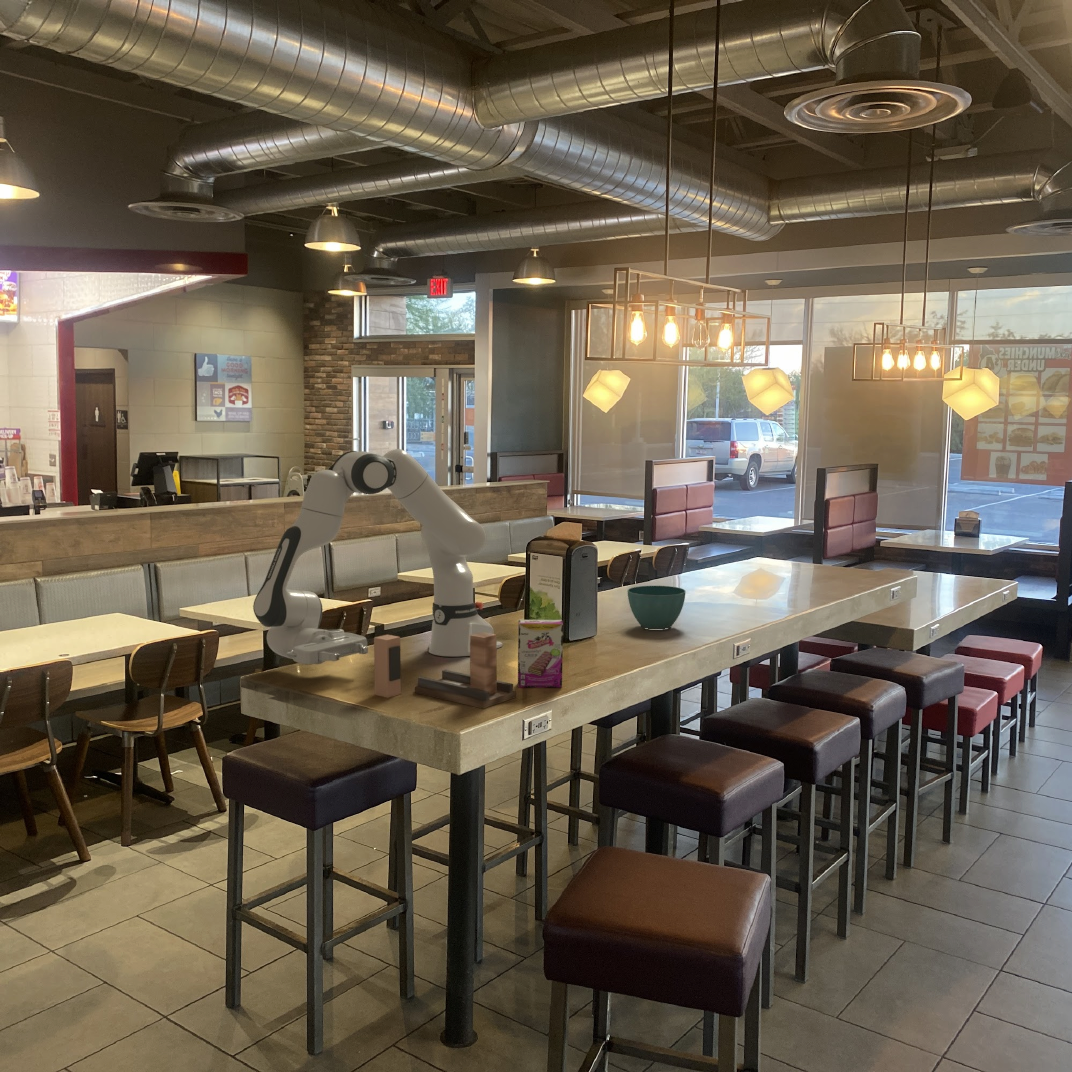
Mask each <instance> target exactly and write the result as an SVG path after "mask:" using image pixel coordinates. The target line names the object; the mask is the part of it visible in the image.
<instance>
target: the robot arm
mask: <svg viewBox="0 0 1072 1072" xmlns="http://www.w3.org/2000/svg"><path fill="white" fill-rule="evenodd" d="M386 489H387V490H389V492H390V493H391V494H392V495H393V496H394V498H395V499H396V500H397V501H398V502H399V503H400V505H402V507H403V508H404V509H405V510H406V512H407V513H408V514H409V515H410V516H411V518H412V519H413V520H415V521H416V522H418V523H419V524H421V529H420V535H421V538H422V541H423V542H424V545H425V546H426V549H427V553H428V556H429V560H430V565H431V569H432V575H433V603H432V608H431V609H432V616H433V620H432V621H431V622H432V623H431V624H432V625H431V632H430V633H431V634H430V643H428V653H430V654H431V655H435V656H438V657H439V656H441V657H470V635H473V634H477V633H481V632H484V633H490V634H495V632H494V628H493V626H492V624H490V623H489V622H488V621H486V620H485V618H482V617H481V616H480V615H479V614H478V611H477V610H483V608H484V603H483V602H478V601H476V602H474V576H473V572H472V571H471V569H470V567H469V566H468V563H467V559H466V557H471V556H476V555H478V554H479V553H480V552H482V551H483V549H484V547H485V545H486V544H487V543H486V542H487V532H486V531H485V528H484V527H483V525H482V524H480V522H478V521H477V520H475V519H474V518H473V517H471V516H470V515H469V514H468V513H467V512H466V511H465V510H464V509H463V508H462V507H460V506H459V504H458V503H456V502H455V501H454V500H453V499H451V498H450V497H449V496H448V495H447V494H446V493H445V492H444V491H443V489H441V487H440V486H439V485H438V483H437V482H436V481H435V480H434V479H433V477H432V476H431V475H430V474H429V473H428V472H427V470H426V469H425V468H424V467H423V466H422V465H421V463H419V462H418V461H417V460H416V458H414V457H413V456H412V455H411V454H409V453H408V452H407V451H406V450H403V449H401V448H395V449H392V450H389V451H387V452H386V453H384V454H383V456H382V455H380V454H376V453H372V452H368V451H364V450H363V451H361V450H360V451H357V450H349V451H346V452H343V453H342V454H340V455H339V456H338V457H337V458H336V460H335V461H334V462H333V464H331V465H330V467H329V468H328V469H321V470H318V471H316V472H314V474H312V476H311V478H310V479H309V482H308V484H307V487H306V490H305V493H304V496H303V498H302V501H301V502H302V503H301V506H300V510H299V513H298V516H297V518H296V520H294V523H292V525H291V526H290V527H289V528H287V529H286V530H285V531H284V533H283V535H282V536H281V539H280V540H279V543H278V546H277V548H276V551H275V553H274V556H273V559H272V561H271V564H270V566H269V568H268V571H267V573H266V575H265V576H266V577H265V578H264V581H263V584H262V586H261V588H260V589H259V590H258V593H257V594H256V596H255V599H254V600H253V601H254V602H253V605H252V607H253V608H252V609H253V613H254V616H255V618H256V619H257V621H258V622H259V624H261V625H262V626H264V627H266V628H269V629H268V631H267V633H266V643H267V645H268V647H269V649H270V650H272V652H274V653H275V654H276V655H279V656H281V657H283V658H288V659H291V660H293V661H294V662H296V663H298V664H301V665H305V666H309V665H310V666H311V665H321V664H323V663H325V662H327V661H328V662H337V661H340V658H344V657H348V656H353V655H357V654H360V655H366V654H368V653H369V648H368V639H367V638H366V636H363V635H360V634H356V633H351V632H345V630H344V629H341V628H333V629H322V628H320V625H321V622H322V617H323V611H324V610H323V603H322V601H321V598H320V596H318V594H317V593H315V592H314V591H312V590H309V591H308V590H301V589H290V588H289V589H288V588H287V586H288V583H289V581H290V577H292V573H293V571H294V568H295V565H296V563H297V560H298V559H299V558H300V557H301V556H302V555H303V554H305V553H306V552H308V551H312V550H314V549H317V548H320V547H323V546H326V545H328V544H329V543H331V542H332V541H334V540H335V539H336V538H337V537H338V534H339V532H340V530H341V528H342V523H343V518H344V514H345V508H346V505H347V502H348V501H349V499H350V497H351V496H352V495H353V494H354V493H357V494H364V495H375V494H378V493H382V492H383V491H385V490H386ZM502 647H503V642H501V641H499V640H497V649H499V648H502Z"/></svg>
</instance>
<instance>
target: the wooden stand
mask: <svg viewBox="0 0 1072 1072" xmlns="http://www.w3.org/2000/svg"><path fill="white" fill-rule="evenodd" d="M497 635H498V634H495V633H494V634H490V633H484V632H481V633H477V634H473V635H470V656H469V666H470V667H469V674H467V673H463V672H459V671H454V670H453V671H452V670H449V669H443V670H441V678H439V679H435V678H430V677H424V676H418V677H417V685H415V686H414V693H415V694H419V695H423V696H428V697H431V698H437V699H441V700H446V701H449V702H452V703H453V702H454V703H457V704H463V705H467V706H471V707H474V708H479V709H486V708H488V707H492V706H496V705H497V704H500V703H503V702H506V701H509V700H513V699H514V698H517V690H514V684H513V683H509V682H505V681H501V680H498V679H497V677H498V676H497V675H498V670H497V669H498V668H497V667H498V665H497V664H498V662H497V661H498V660H497V656H498V654H497V652H498V651H497V649H498V648H497V641H498V640H497V639H498V638H497V637H498V636H497Z"/></svg>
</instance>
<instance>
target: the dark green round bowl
mask: <svg viewBox="0 0 1072 1072" xmlns="http://www.w3.org/2000/svg"><path fill="white" fill-rule="evenodd" d="M627 598H628V605H629V607H630V609H631V612H632V615H633V616H634V618H635V619H636V621H637V622H638V624H639V625H640V627H642V629H644V628H648V629H665V628H669V629H671V628H672V627H673V625H674V623H675V622H677V619H678V618H679V616H680V615H681V613H682V609H683V607H684V604H685V600H686V590H685V589H683V588H682V587H677V586H672V585H671V586H670V585H640V586H639V585H638V586H633V587H630V588H628V589H627Z"/></svg>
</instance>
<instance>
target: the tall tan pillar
mask: <svg viewBox="0 0 1072 1072" xmlns="http://www.w3.org/2000/svg"><path fill="white" fill-rule="evenodd" d="M373 652H374V654H373V655H374V657H373V658H374V660H373V661H374V663H373V664H374V665H373V667H374V695H375V696H379V697H383V698H387V699H388V698H392V697H395V696H398V695H401V694H402V680H401V679H402V678H401V677H402V675H401V674H402V673H401V672H402V671H401V669H402V668H401V662H402V661H401V660H402V659H401V636H396V635H392V634H383V635H379V636H374V638H373Z"/></svg>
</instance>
